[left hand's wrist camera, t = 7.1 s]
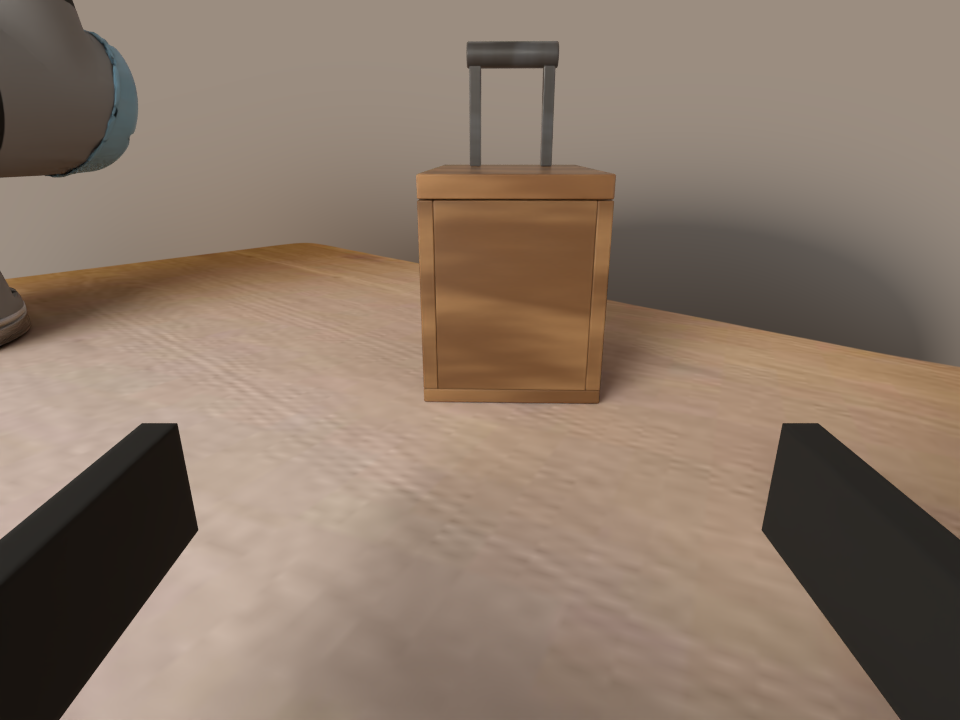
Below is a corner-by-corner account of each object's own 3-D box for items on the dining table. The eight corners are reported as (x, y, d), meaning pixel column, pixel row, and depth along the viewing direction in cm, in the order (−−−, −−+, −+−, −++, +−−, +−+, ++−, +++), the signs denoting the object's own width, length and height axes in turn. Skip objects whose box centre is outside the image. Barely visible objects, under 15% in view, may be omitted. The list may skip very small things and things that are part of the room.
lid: (444, 181, 42) (441, 49, 39) (574, 181, 42) (582, 49, 39) (416, 199, 28) (409, -6, 25) (614, 199, 28) (630, -7, 25)
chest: (446, 325, 45) (443, 182, 41) (568, 326, 45) (576, 183, 41) (424, 401, 31) (416, 200, 28) (598, 404, 31) (614, 200, 28)
